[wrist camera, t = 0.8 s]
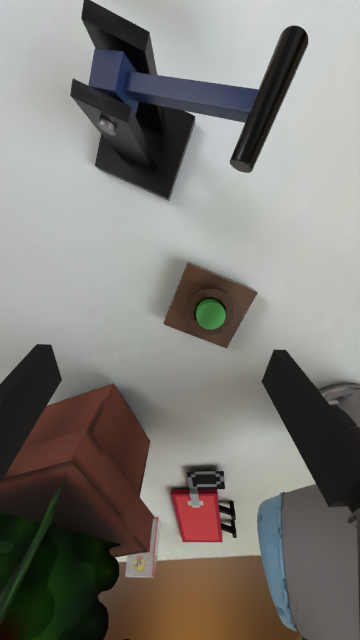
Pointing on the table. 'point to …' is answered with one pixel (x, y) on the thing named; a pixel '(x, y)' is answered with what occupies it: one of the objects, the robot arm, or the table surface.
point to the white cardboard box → (145, 556)
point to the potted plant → (71, 517)
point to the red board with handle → (202, 508)
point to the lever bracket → (119, 119)
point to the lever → (209, 92)
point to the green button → (210, 314)
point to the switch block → (200, 287)
